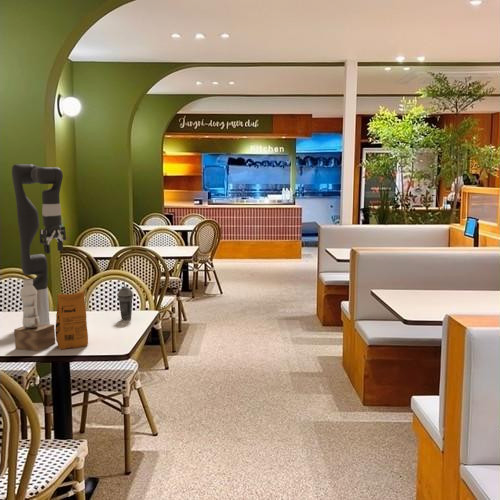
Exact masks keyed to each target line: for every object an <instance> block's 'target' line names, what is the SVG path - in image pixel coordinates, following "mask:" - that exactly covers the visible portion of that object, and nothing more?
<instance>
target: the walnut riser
mask: <svg viewBox="0 0 500 500" xmlns="http://www.w3.org/2000/svg"><path fill="white" fill-rule="evenodd" d="M13 330H14V346H15V347H14V348H15V350H25V351H36V352H38V351H40V350H43V349H46V348H48V347H50V346H52V345H55V344H56V333H55V331H56V328H55V324H50V323H49V324H39V326H38V327H35V328H25V327H24V326H20V327H17V328H15V329H13Z"/></svg>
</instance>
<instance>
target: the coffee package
mask: <svg viewBox="0 0 500 500" xmlns="http://www.w3.org/2000/svg"><path fill="white" fill-rule="evenodd" d="M85 300H86V299H85V292H84V291H79V292H75V293H71V294H69V293H57V305H56V314H55V318H56V319H55V342H56V343H57V347H58V349H60V350H65V349H66V350H67V349H71V348H73V349H78V348H82V347H85V346H86V347H87V346H88V345H89V334H88V325H87V324H88V322H87V309H86V308H87V307H86V303H85Z"/></svg>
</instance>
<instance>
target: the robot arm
mask: <svg viewBox="0 0 500 500" xmlns="http://www.w3.org/2000/svg"><path fill="white" fill-rule="evenodd" d="M63 174H64V173H63V170H62V169H61V168H60V167H58V166H48V167H45V166H37V165H35V164H32V163H16V164H15V163H14V164H13V165H12V168H11V176H12V177H11V178H12V185H13V189H14V195H15V202H16V213H17V214H16V215H17V225H18V233H19V234H18V235H19V241H20V265H21V270H22V273H23V275H24V276H33V275H36V276H35V278H34V279H33V278H32V279H33V284H32V285H33V286H34V287H35V289H36V290H37V312H38V316H39V320H40V322H39V324H50V306H49V294H48V293H49V292H48V291H49V289H48V279H49V278H48V260H47V257H46V255H47V254H48V255H49V254H50V253H51V250H50V249H51V247H50V246H51V245H50V243H51V241H52V240H53V239H55V240H56V241H57V251H58V252H63V250H64V243H63V242H64V241H66V240H67V235H66V227H65V226H62V208H61V200H60V198H61V197H60V191H61V186H62V183H63V178H64V175H63ZM33 184H40V185H52V186H51V188H48V189H45V190H44V189H43V191H42V192H41V198H42V199H41V200H42V209H41V212H42V225H43V226H44V229H39V228H40V217H39V216H40V215H39V211H38V209H37V208H36V206H35V205H34V204H33V203H32V201H31V199H29V198H28V196H27V194H26V192H25V189H24V187H23V185H33ZM38 231H39V244H40V245H41V244H42V245H43V249H44V253H37V254H36V253H35V254H31V247H32V246H31V245H32V243H33V240H34V239H35V237H36V234H37V232H38ZM45 254H46V255H45Z"/></svg>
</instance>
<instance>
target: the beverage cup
mask: <svg viewBox="0 0 500 500" xmlns="http://www.w3.org/2000/svg"><path fill="white" fill-rule="evenodd" d="M122 279H123V287H121V288H120V289H119V290H118V292H117V298H118V302H119V303H118V304H119V311H120V316H121V317H120V318H121V320H122V321H130V320H131V319H132V314H133V313H132V310H133V297H134V294H133V291H132V289H131V288H129V287H126V283H125V277H123V278H122Z"/></svg>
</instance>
